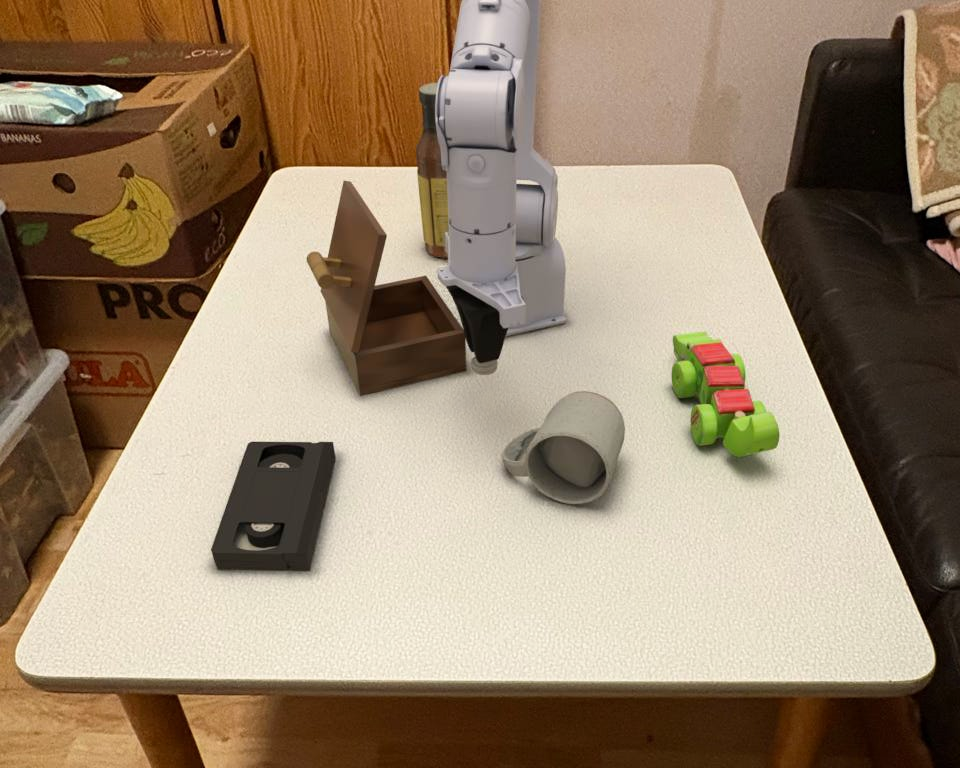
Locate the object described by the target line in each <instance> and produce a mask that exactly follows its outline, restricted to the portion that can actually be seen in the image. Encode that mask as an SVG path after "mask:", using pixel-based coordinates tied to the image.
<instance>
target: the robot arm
mask: <svg viewBox="0 0 960 768" xmlns="http://www.w3.org/2000/svg"><path fill="white" fill-rule="evenodd" d="M542 4H543V0H461V3H460V5H459V12H458V17H457V23H456V29H455V36H454V42H453V49H452V54H451V61H450V62H451V63H450V66H449V72H448V75H446V76H445V75H444V74H442V75H440V77H439V78H438V82H437V83H438V85H437V91H436V100H435V121H436V130H437V137H438V142H439V145H440V150H441V164H442V169H443V170H445V171H447V198H448V220H449V232H446V233H445V251H446V252H447V254H448V258H447V266H446V267H442V268H439V269H438V270H437V272H436V273H437V279H438V281H439V282H440V284H441V285H443V286H444V287H445V288H446V289H447V291H448V293H449V294H450V296H451V298H452V301H453V303H454V305H455V307H456V309H457V310H456V311H457V312H458V315H459V318H460V322H461V327H462V328H463V330H464V334H465V340H466V344H467V346H468V349H469V351H470V352H471V353H474V354H473V355H474V357H476V359H477V361H478V362H479V363H484V362H489V361H493V360H497V361H498V360H499V359H500V356H501V353H502V350H503V347H504V342H505V340H506V337H508V336H513V335H517V334H522V333H526V332H530V331H535V330H540V329H544V328H549V327H553V326H558V325H561V324H565V323H567V318H566V316H565V315H564V311H565V310H564V307H565V294H566V293H565V291H566V274H567V273H566V271H567V269H566V259H565V254H564V251H563V247H562V245H561V243H560V241H559V240H558V239H557V237H556V230H557V223H558V221H557V220H558V207H559V190H558V184H559V183H558V181H559V177H558V174H557V172H556V171H557V170H556V168H555V167H554V166H553V164H551V163H550V162H549V161H548V160H547V159H545V158H544V157H543V156H542V155H541V154H540V153H539V152H538V151H536V149H535V148H534V143H535V128H536V127H535V126H536V111H537V109H536V108H537V92H538V75H539V56H540V42H541V41H540V40H541V21H542V7H543V5H542ZM517 181H530V182H534V183H537V184H531V183H517Z"/></svg>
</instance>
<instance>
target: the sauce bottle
mask: <svg viewBox="0 0 960 768" xmlns="http://www.w3.org/2000/svg"><path fill="white" fill-rule="evenodd" d="M437 85H438V82H431V83H430V82H429V83H426V84H423V85H422V86H420V87H419V89H418V99H419V102H420V104H421V112H422V122H421V123H422V128H423V129H422V132H421V136H420V137H419V140H418V143H417V145H416V147H415V155H416V156H415V157H416V166H417V170H416V173H417V174H416V175H417V184H418V195H419V205H420V214H421V216H420V217H421V226H422V236H423V240H424V246H425V247H424V248H425V250H426V252H428V253H429V254H431V255H432V256H435V257H437V258H441V259H442V258H443V259H445V258H446V259H448V254H447V252H446V251H445V233H446V232H449V220H448V198H447V171H445V170H443V169H442V164H441V150H440V145H439V142H438V137H437V130H436V121H435V100H436V91H437Z"/></svg>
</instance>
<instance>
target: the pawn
mask: <svg viewBox="0 0 960 768" xmlns="http://www.w3.org/2000/svg"><path fill="white" fill-rule="evenodd" d="M498 365H499V361H498V359H497V360H493V361H489V362H484V363H479V362H478V361H477V359H476V357H475V356H474V357H472V358H471V359H470V370H471V371H472V372H473V374H476V375H479V376H489V375H491V374H494V373H495V372H497V370H498Z"/></svg>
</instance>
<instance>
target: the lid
mask: <svg viewBox="0 0 960 768" xmlns="http://www.w3.org/2000/svg"><path fill="white" fill-rule="evenodd" d="M387 237H388V235H387V233H386V232H385V230H384V229H383V227H382V225H380V222H379V221H378V220H377V218H376V217H375V215H374V214H373V212H372V211H371V209H370V208H369V206H368V205H367V203H366V202H365V201H364V199H363V197H362V195H361V194H360V193H359V191H358V190H357V188H356V187H355V185H354V184H353V183H352V181H348V180H343V181H342V186H341V191H340V196H339V201H338V205H337V210H336V215H335V220H334V224H333V230H332V234H331V240H330V245H329V248H328V249H329V250H328V252H327V257H325V256H323V255H322V254H321V253H320V252H319V251H312V252H309V253H308V255H307V256H306V263H307V265H308V267H309V270H310V271H311V273H312V275H313V277H314V279H315V281H316V283H317V285H318V287H319V288H320V293H321V295H322V298H323V299H324V301H326V303H327V305H328V307H329V309H330V311H331V313H332V315H333V317H334V319H335V321H336V323H337V325H338V327H339V329H340V331H341V333H342V335H343V337H344V339H345V341H346V343H347V345H348V347H349V349H350V351H351V352H355V353H358V352H359V348H360V344H361V340H362V336H363V332H364V328H365V324H366V319H367V315H368V311H369V307H370V303H371V299H372V295H373V291H374V287H375V286H376V282H377V279H378V274H379V270H380V266H381V261H382V257H383V254H384V249H385V246H386V241H387ZM326 303H325V304H326Z"/></svg>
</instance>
